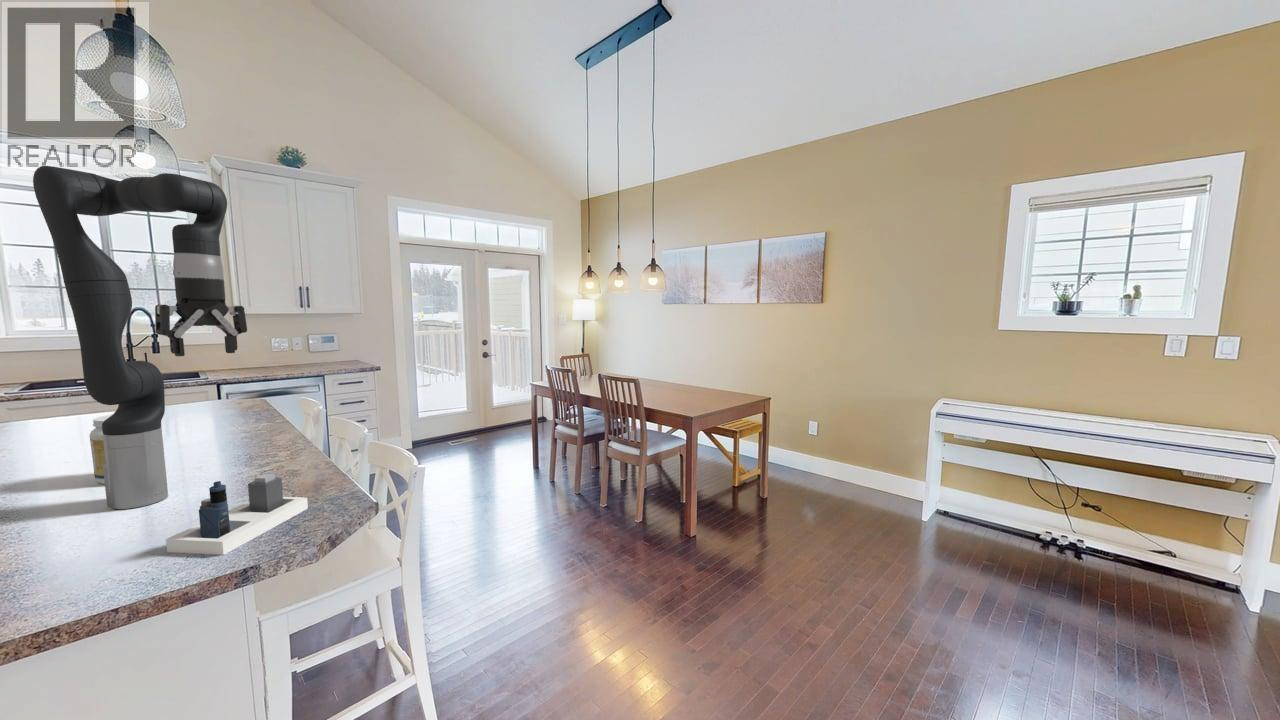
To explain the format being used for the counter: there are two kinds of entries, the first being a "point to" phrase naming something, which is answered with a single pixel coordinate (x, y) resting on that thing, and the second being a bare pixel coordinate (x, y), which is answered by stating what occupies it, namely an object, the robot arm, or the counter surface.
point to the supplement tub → (98, 448)
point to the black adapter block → (265, 493)
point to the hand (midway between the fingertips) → (206, 354)
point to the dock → (236, 529)
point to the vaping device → (214, 513)
